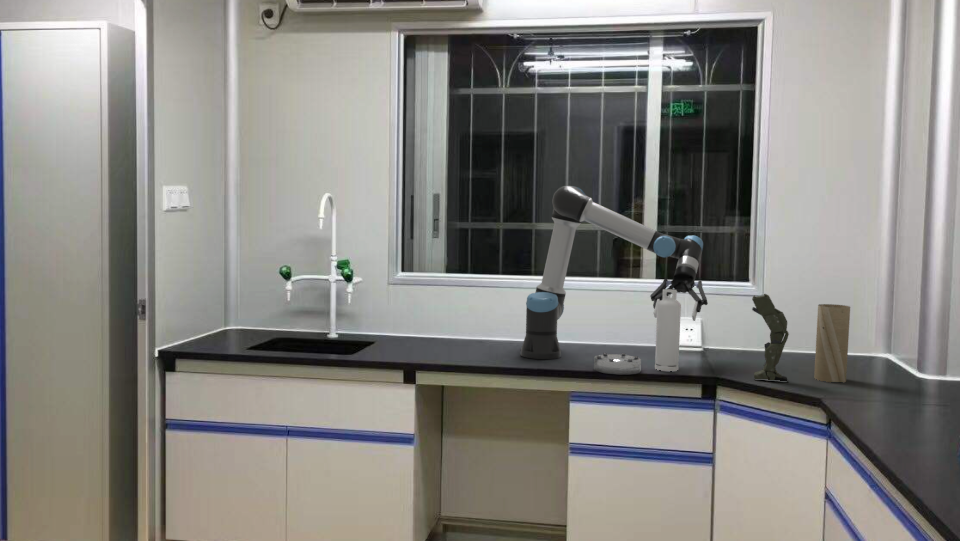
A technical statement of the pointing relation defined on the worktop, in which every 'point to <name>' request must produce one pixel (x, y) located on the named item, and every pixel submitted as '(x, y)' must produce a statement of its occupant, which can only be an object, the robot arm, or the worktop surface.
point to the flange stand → (617, 364)
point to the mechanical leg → (771, 337)
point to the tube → (832, 342)
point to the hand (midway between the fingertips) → (674, 316)
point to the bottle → (668, 332)
